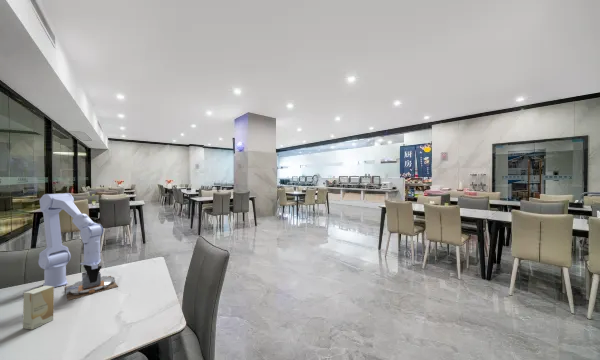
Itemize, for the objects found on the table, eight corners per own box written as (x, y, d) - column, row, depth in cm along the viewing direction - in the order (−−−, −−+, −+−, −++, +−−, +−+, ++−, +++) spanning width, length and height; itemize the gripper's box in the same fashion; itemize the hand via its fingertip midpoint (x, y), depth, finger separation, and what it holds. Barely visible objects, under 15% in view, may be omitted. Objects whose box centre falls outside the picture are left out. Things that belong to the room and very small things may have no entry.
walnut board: (65, 287, 112) (65, 286, 112) (110, 276, 125) (110, 275, 125) (67, 300, 100) (67, 299, 100) (118, 286, 113) (118, 286, 113)
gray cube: (82, 286, 109) (82, 275, 109) (99, 281, 113) (99, 271, 113) (83, 288, 106) (83, 277, 106) (100, 284, 111) (100, 273, 111)
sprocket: (53, 295, 103) (53, 282, 103) (88, 278, 121) (88, 267, 121) (95, 294, 104) (95, 282, 104) (123, 277, 122) (123, 266, 121)
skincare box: (31, 330, 80) (31, 294, 80) (22, 328, 81) (21, 293, 81) (55, 319, 87) (54, 285, 87) (45, 317, 88) (45, 284, 87)
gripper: (78, 250, 112) (78, 279, 112) (82, 256, 102) (82, 288, 102) (98, 246, 117) (98, 274, 117) (103, 253, 107) (103, 283, 107)
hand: (92, 280), depth 110 cm, fingers closed on gray cube, 4 cm apart
